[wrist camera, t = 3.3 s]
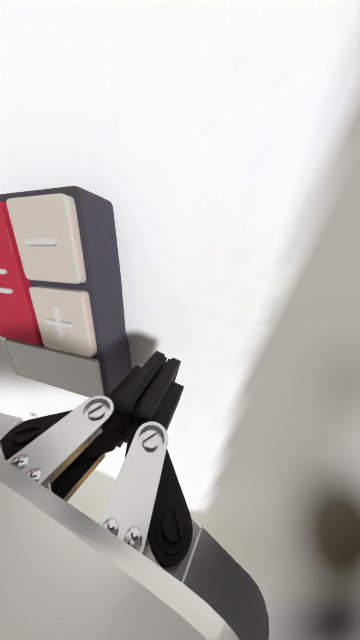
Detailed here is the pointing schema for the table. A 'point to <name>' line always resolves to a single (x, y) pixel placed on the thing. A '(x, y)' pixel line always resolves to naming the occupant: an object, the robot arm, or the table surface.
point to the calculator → (62, 290)
